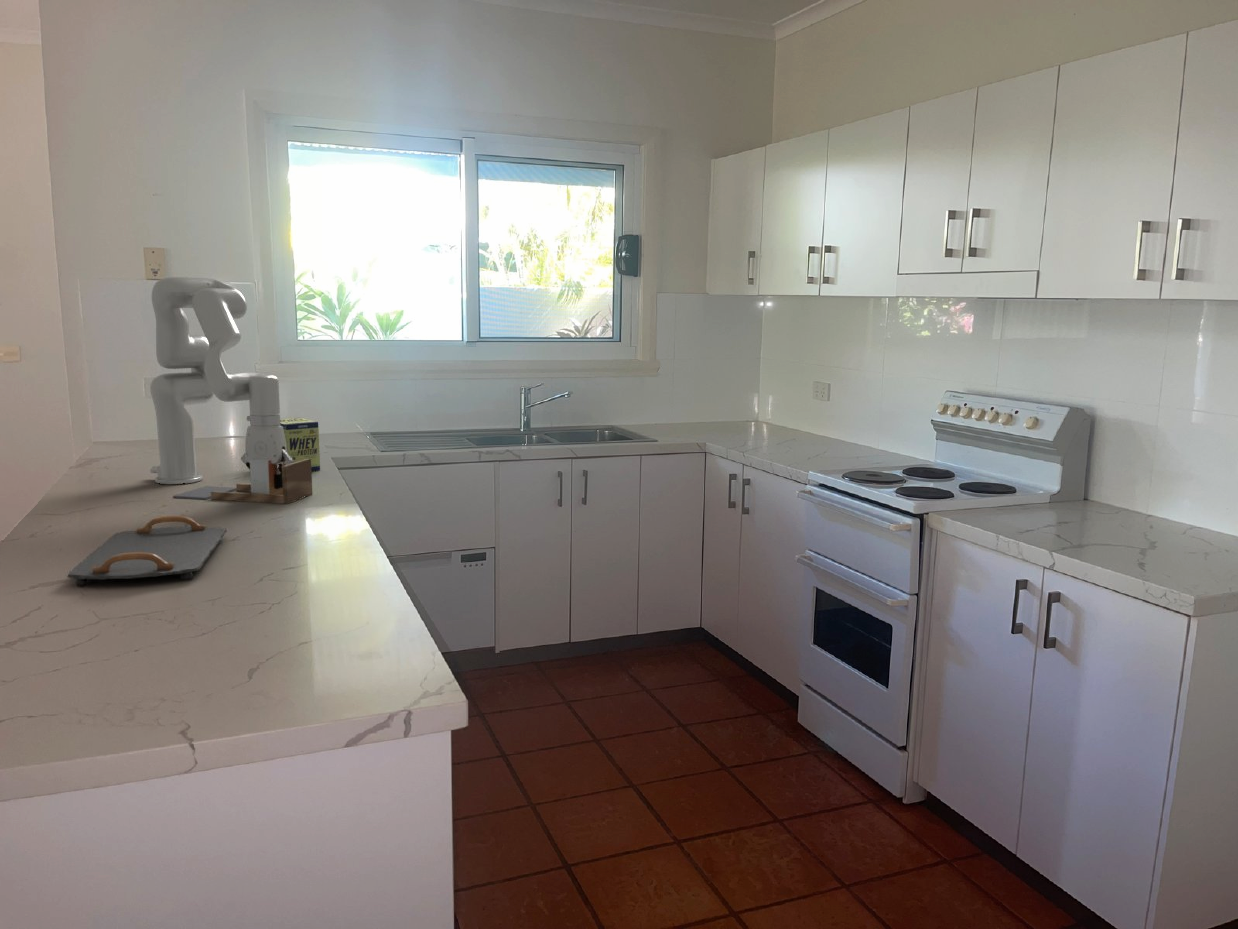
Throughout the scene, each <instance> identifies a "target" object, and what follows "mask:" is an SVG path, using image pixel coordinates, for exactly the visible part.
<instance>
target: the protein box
mask: <svg viewBox="0 0 1238 929" xmlns="http://www.w3.org/2000/svg"><path fill="white" fill-rule="evenodd" d="M280 425H281V426H282V427H283V430H284V434H285V439H286V447H287V453H288V454H289V455H290V457H291V458H292V459H293V460H294V462H297V461H301V460H304V459H311V472H318V470H319V471H321V455H320V434H319V422H318V421H315V420H310V419H307V418H304V417H303V418H302V417H289V418H280ZM285 462H286V461H284V464H285ZM294 462H293V463H294Z"/></svg>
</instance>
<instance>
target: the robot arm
mask: <svg viewBox="0 0 1238 929" xmlns="http://www.w3.org/2000/svg"><path fill="white" fill-rule="evenodd" d="M151 304H152V309H153V312H154V316H155V349H156V350H155V351H156V352H155V355H156V360H157V363H158V365H159V366H160V367H162V368H164V369H168V370H171V369H172V370H176V369H177V370H179V369H180V370H181V369H182V370H183V369H190V371H189V372H188V371H187V372H169V373H163V374H160V375H157V376H155V377H154V378H153V379H152V381H151V383H150V386H149V387H150V388H149V389H150V396H151V399H152V402H153V406H154V411H155V417H156V418H155V419H156V428H157V429H156V430H157V443H158V454H159V456H158V457H159V465H153V466H152V467H151V468H150V471H149V472H150V473H151V474H157V477H155V480H154V481H155V483H157V484H159V483H160V485H181V484H183V483H185V484H190V483H191V484H192V483H195V482H200V481H202V480H203V479H204V478H203V475H202V474H200V473H197V462H196V461H197V459H196V447H195V432H194V431H195V430H194V420H193V418H192V416H191V414H190V413H189V411H188V410H187V409H186V407H185V406H191V405H200V404H201V405H202V404H207V403H208V402H210V401H211V400H212V399H213V397H214V396H215V397H216V399H218V400H220V401H222V402H224V403H225V402H226V403H229V402H240V401H241V402H243V401H249V415H247V416H246V421H247V422H249V425H248V426H247V429H246V434H245V443H244V446H245V448H244V454H242V455H241V457H240V461H242V463H244V465H246V467H247V468H248V469H249V470H250V460H252V459H258V460H270V463H271V464H274V469H275V472H276V474H274V487H275V489H279V488H282V487H283V482H282V466H284V465H287V464H291V463H293V462H294V460H293V459H292V458H291V457H290V455H289V454H288V453H287V447H286V439H285V434H284V430H283V427H282V426H281V425H280V419H281V410H280V409H281V408H280V406H281V405H280V385H279V379H278V377H277V376H276V375H274V374H273V375H272V374H263V373H261V372H257V371H256V372H255V371H249V372H230V373H229V372H228V373H227V372H226V369H225V367H224V365H223V362H222V353H225V352H226V351H228V350H230V349H232V348H233V347H235V346H236V345H237V344H239V343H240V341H241V338H242V335H241V333H240V331H239V328H238V326H237V324H236V322H235V320H237V319H239V320H240V319H241V318H244V316H245V315H246V314H247V309H248V304H247V301H246V299H245V297H244V295H243V293H241V291H239V290H238V289H237V288H235V287H233V286H230V285H228V284H226V283H224V282H222V281H219V280H217V279H214V278H205V277H186V276H183V277H182V276H170V277H164V278H160V279H159V280H157V281H156V282H155V283H154V285H153V287H152V289H151ZM183 309H192V310H193V311H194V313H195V316H196V319H197V321H198V323H199V325H200V326H201V330H202V331H203V333H204V336H203V335H200V334H199V335H197V334H195V335H193V334H191V335H190V322H189V319H188V316H187V315H186V312H185V311H184V310H183ZM284 461H286V462H285V464H284V465H283V463H282V462H284ZM183 485H184V484H183Z"/></svg>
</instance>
